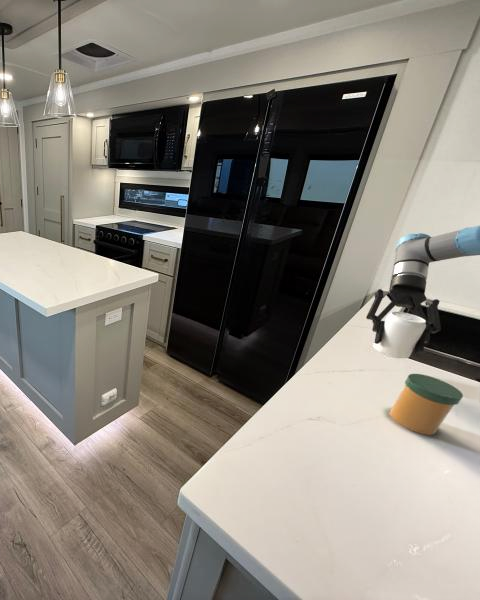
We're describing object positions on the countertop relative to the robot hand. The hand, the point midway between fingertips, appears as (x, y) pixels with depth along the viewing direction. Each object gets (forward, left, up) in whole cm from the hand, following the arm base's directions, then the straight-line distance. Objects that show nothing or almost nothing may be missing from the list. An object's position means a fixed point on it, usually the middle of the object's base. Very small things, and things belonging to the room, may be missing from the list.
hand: (397, 346), depth 88 cm
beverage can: (0, -3, -4) cm, 5 cm away
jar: (-2, +22, -10) cm, 24 cm away
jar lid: (-2, +22, +1) cm, 22 cm away
